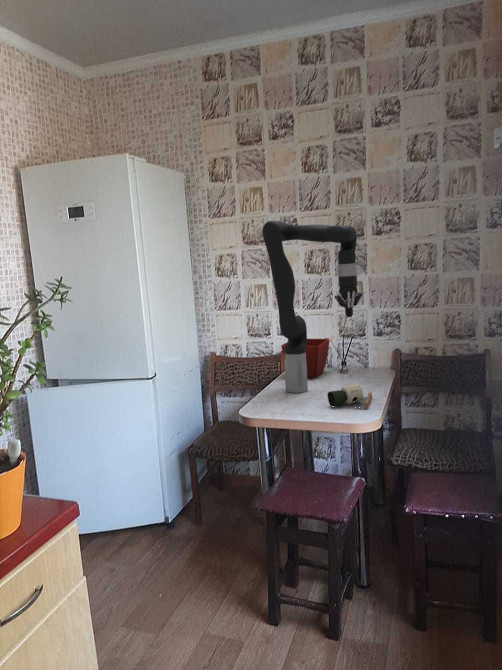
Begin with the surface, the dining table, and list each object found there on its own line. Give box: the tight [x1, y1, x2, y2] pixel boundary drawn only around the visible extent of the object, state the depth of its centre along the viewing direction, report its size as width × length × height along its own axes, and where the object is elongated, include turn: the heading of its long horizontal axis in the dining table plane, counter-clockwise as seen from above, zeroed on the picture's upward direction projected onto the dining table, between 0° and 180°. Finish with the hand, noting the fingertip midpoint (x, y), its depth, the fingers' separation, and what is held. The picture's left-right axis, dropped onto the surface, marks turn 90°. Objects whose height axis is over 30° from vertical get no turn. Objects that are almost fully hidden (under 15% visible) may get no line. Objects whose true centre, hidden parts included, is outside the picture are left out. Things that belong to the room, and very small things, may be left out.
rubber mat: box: [335, 391, 373, 410], centre depth 214 cm, size 12×16×2 cm
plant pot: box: [281, 338, 330, 379], centre depth 267 cm, size 19×19×17 cm
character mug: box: [326, 383, 364, 408], centre depth 212 cm, size 11×7×13 cm
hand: (349, 316), depth 223 cm, fingers closed
